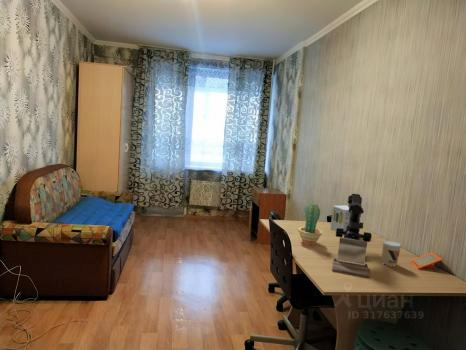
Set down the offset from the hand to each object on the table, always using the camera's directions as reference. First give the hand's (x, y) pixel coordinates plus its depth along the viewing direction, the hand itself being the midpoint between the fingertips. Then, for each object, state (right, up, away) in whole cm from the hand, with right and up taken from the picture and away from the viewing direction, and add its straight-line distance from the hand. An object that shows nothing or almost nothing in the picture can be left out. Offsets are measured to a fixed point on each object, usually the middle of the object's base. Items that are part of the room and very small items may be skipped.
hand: (352, 248), depth 199 cm
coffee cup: (+23, -10, +7) cm, 26 cm away
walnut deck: (-3, -10, -7) cm, 12 cm away
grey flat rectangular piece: (-1, -1, -2) cm, 3 cm away
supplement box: (+16, -1, +69) cm, 71 cm away
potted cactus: (-16, -3, +34) cm, 38 cm away
